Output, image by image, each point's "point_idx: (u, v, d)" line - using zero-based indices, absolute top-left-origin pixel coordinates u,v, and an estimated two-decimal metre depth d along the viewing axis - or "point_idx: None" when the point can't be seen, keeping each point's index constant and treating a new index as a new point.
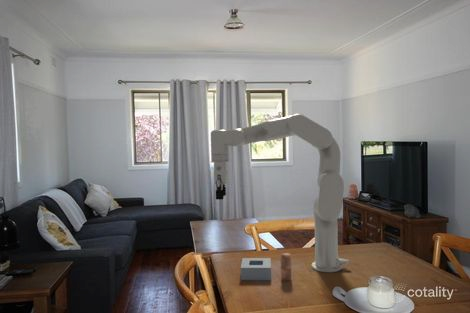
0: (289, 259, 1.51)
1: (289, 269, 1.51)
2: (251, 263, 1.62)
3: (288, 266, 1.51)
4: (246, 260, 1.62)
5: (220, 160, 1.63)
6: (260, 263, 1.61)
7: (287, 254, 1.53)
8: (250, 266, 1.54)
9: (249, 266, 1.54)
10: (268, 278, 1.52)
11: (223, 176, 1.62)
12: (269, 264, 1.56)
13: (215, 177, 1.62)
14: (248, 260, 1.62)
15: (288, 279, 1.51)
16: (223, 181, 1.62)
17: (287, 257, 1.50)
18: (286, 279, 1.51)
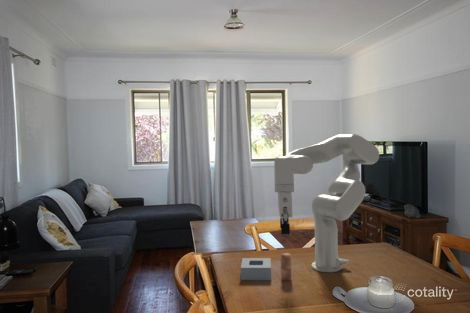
0: (289, 259, 1.51)
1: (289, 269, 1.51)
2: (251, 263, 1.62)
3: (288, 266, 1.51)
4: (246, 260, 1.62)
5: (286, 191, 1.47)
6: (260, 263, 1.61)
7: (287, 254, 1.53)
8: (250, 266, 1.54)
9: (249, 266, 1.54)
10: (268, 278, 1.52)
11: (290, 208, 1.46)
12: (269, 264, 1.56)
13: (281, 209, 1.47)
14: (248, 260, 1.62)
15: (288, 279, 1.51)
16: (290, 214, 1.46)
17: (287, 257, 1.50)
18: (286, 279, 1.51)
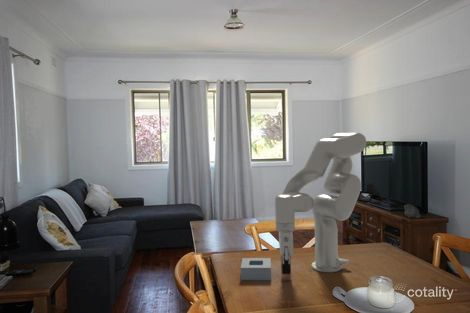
0: None
1: None
2: (251, 263, 1.62)
3: None
4: (246, 260, 1.62)
5: (287, 230, 1.48)
6: (260, 263, 1.61)
7: None
8: (250, 266, 1.54)
9: (249, 266, 1.54)
10: (268, 278, 1.52)
11: (291, 248, 1.47)
12: (269, 264, 1.56)
13: (282, 252, 1.48)
14: (248, 260, 1.62)
15: (288, 279, 1.51)
16: (291, 253, 1.47)
17: None
18: (286, 279, 1.51)
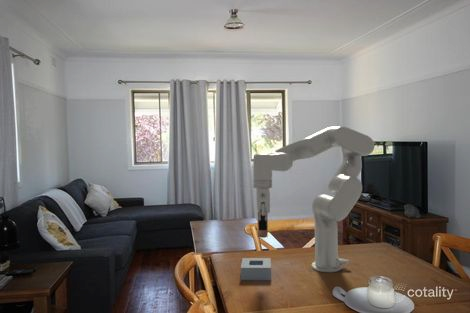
0: (266, 216, 1.54)
1: None
2: (251, 263, 1.62)
3: None
4: (246, 260, 1.62)
5: (264, 186, 1.51)
6: (260, 263, 1.61)
7: None
8: (250, 266, 1.54)
9: (249, 266, 1.54)
10: (268, 278, 1.52)
11: (267, 204, 1.50)
12: (269, 264, 1.56)
13: (259, 208, 1.51)
14: (248, 260, 1.62)
15: (264, 236, 1.54)
16: (267, 209, 1.50)
17: None
18: (262, 235, 1.54)
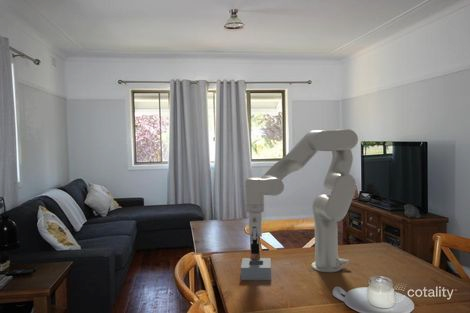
0: (258, 239, 1.56)
1: None
2: (251, 263, 1.62)
3: None
4: (246, 260, 1.62)
5: (256, 211, 1.54)
6: (260, 263, 1.61)
7: (256, 235, 1.58)
8: (250, 266, 1.54)
9: (249, 266, 1.54)
10: (268, 278, 1.52)
11: (259, 228, 1.53)
12: (269, 264, 1.56)
13: (250, 233, 1.53)
14: (248, 260, 1.62)
15: (257, 259, 1.57)
16: (259, 233, 1.53)
17: None
18: (255, 259, 1.56)
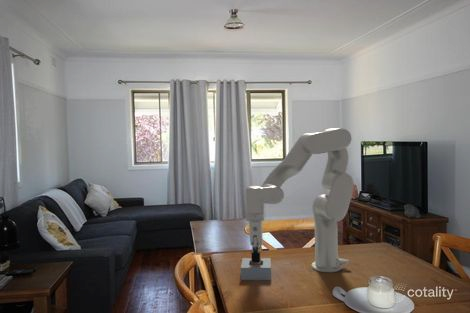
0: None
1: None
2: None
3: (258, 262, 1.57)
4: (246, 260, 1.62)
5: (256, 220, 1.54)
6: None
7: None
8: (250, 266, 1.54)
9: (249, 266, 1.54)
10: (268, 278, 1.52)
11: (259, 237, 1.53)
12: (269, 264, 1.56)
13: (251, 240, 1.53)
14: (248, 260, 1.62)
15: None
16: (259, 242, 1.53)
17: None
18: None
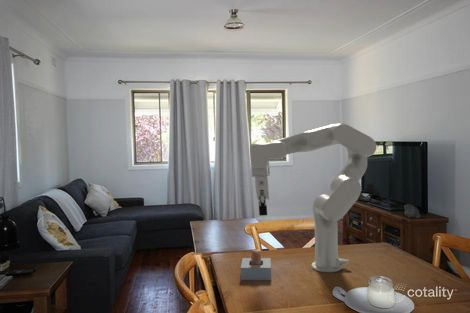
0: (259, 255, 1.57)
1: None
2: None
3: (258, 262, 1.57)
4: (246, 260, 1.62)
5: (262, 174, 1.57)
6: None
7: (257, 250, 1.58)
8: (250, 266, 1.54)
9: (249, 266, 1.54)
10: (268, 278, 1.52)
11: (266, 191, 1.56)
12: (269, 264, 1.56)
13: (258, 192, 1.56)
14: (248, 260, 1.62)
15: None
16: (266, 196, 1.56)
17: (257, 253, 1.56)
18: None
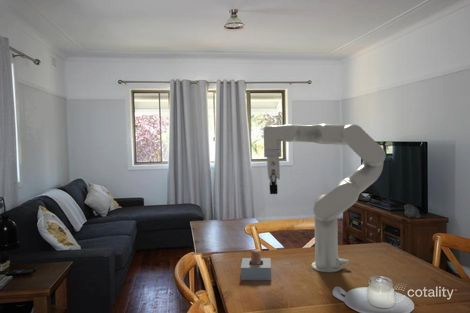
0: (258, 255, 1.57)
1: None
2: None
3: (258, 262, 1.57)
4: (246, 260, 1.62)
5: (274, 155, 1.65)
6: None
7: (257, 250, 1.58)
8: (250, 266, 1.54)
9: (249, 266, 1.54)
10: (268, 278, 1.52)
11: (277, 171, 1.64)
12: (269, 264, 1.56)
13: (269, 172, 1.64)
14: (248, 260, 1.62)
15: None
16: (277, 176, 1.64)
17: (257, 253, 1.56)
18: None
